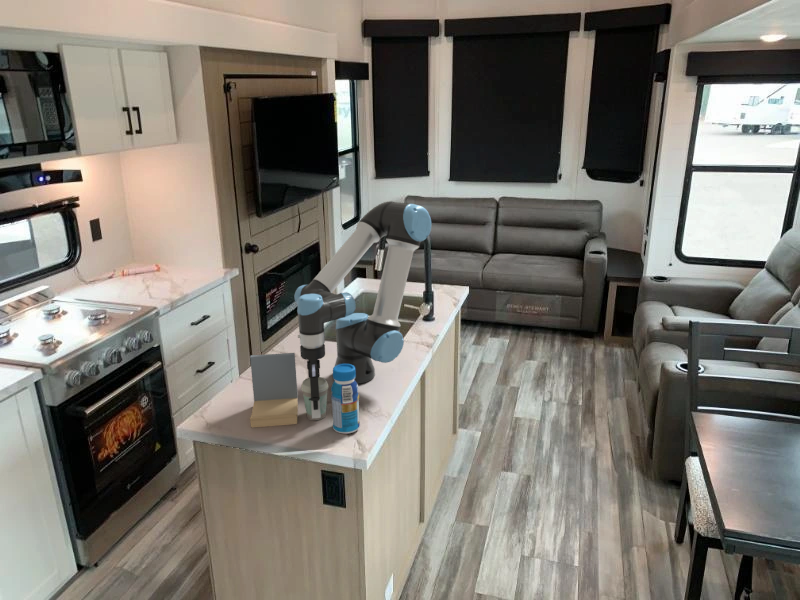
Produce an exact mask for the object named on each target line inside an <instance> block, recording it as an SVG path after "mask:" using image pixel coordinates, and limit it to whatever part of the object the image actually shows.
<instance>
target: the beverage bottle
mask: <svg viewBox="0 0 800 600" xmlns="http://www.w3.org/2000/svg"><path fill="white" fill-rule="evenodd" d="M334 366H335V365H334ZM334 366H333V368H332V378H333V380H334V381H333V382H332V385H331V387H330V390H331V395H330V399H331V406H332V407H331V410H332V428H333V430H334V431H335V432H336V433H339V434H342V435H343V434H345V435H346V434H351V433H355V432H356V431H358V430H359V429H360V427H361V424H360V408H359V407H360V405H359V404H360V403H359V402H360V401H359V400H360V393H359V389H360V388H359V384H357V382H356V381H355V380H354V379H355V377H356V370H355V367H354V366H353V365H351V364H339V365H336V366H335V367H334Z"/></svg>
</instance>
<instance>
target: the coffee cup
mask: <svg viewBox="0 0 800 600" xmlns="http://www.w3.org/2000/svg"><path fill="white" fill-rule="evenodd" d="M318 385H319V397H320V413H321V418H312V410H311V400H309V398H311V387H310V378H309V377H307V378H305V379H304V380H303V381H302V383H301V387H300V390H301V391H302V396H303V402H304V407H305V412H306V416H307V419H308V420H310V421H319V420H320V421H321V420H322V419H323V420H324V419H325V417H326V416H327V415H326V414H327V404H328V403H327V401H328V399H327V398H328V389H329V383H328V381H327V379H326V378H324V377H321V376H319V377H318Z"/></svg>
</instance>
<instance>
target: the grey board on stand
mask: <svg viewBox="0 0 800 600" xmlns="http://www.w3.org/2000/svg"><path fill="white" fill-rule="evenodd" d="M249 359H250V369H251V370H250V372H251V383H252V393H253V406H252V410H251V416H249V420H250V428H252V429H253V428H264V427H277V426H290V425H298V414H299V413H298V411H299V410H298V409H299V407H298V406H299V399H298V398H299V397H298V383H297V382H298V381H297V380H298V379H297V365H296V352H284V353H282V352H281V353H269V354H268V353H267V354H255V355H254V354H252V355H251V354H250V357H249Z"/></svg>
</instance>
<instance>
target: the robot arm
mask: <svg viewBox="0 0 800 600" xmlns="http://www.w3.org/2000/svg"><path fill="white" fill-rule="evenodd" d="M431 232H432V219H431V216H430V213H429V211H428V210H427V208H425V207H423V206H421V205H418V204H415V203H408V202H407V203H405V202H397V201H392V200H391V201H383V202H381V203H379V204H378V205H375V206H374V207H373V208H372V209H371V210H369V211H368V212H366V213H365V214H364V216H363V217H361V219H360V220H359V221H358V222H357V224H356V229H355V230H354V232H352V234H351V235H350V236H349V237H348V238H347V240H346V241H345V242H344V243H343V244H342V245H341V246H340V248H339V249H338V250H337V251H336V253H335V254H334V255H333V256H332V257H331V258H330V259H329V260H328V261H327V262H326V264H325V266H324V267H323V268H322V269H321V270H320V271H319V272H318V274H317V275H315V277H314V278H313V279H312V280H311V281H310V283H308V284H302V285H300V286H298V287H297V288H296V290H295V292H294V301H295V303H296V304H297V310H296V312H297V315H298V316H297V317H298V333H299V334H297V338H298V339H299V344H300V346H299V349H300V351H299V352H300V357H301V359H303V360H304V361H305V360H306V369H307V374H308V375H307V376H308V377H307V378H310V387H311V398H309V400H311V410H312V418H321V413H320V397H319V385H318V377H321V375H320V369H321V363H320V362H321V360H320V359H322V358H324V357H325V356H326V345H325V342H326V341H325V340H326V338H325V324H326V323H329V322H333V321H335V337H336V339H335V340H336V352H337V354H336V360H335V363H334V366H333V368H334V367H335V366H336V365H339V364H351V365H353V366H354V367H355V370H356V377H355V379H354V380H355V381H356V382H357V384H358V385H359V384H364V383H367V382H369V381H371V380H373V379H374V378H375V375H376V371H375V365H374V363H373V361H375V362H380V363H382V364H383V363H384V364H387V363H390V362H392V361H394V360H395V359H396V358H398V357H399V355H400V354H401V353H402V350H403V349H404V348H403V347H404V343H405V342H404V341H405V340H404V337H403V334H402V333H401V332H400V329H401V323H400V322H399V320H398V318H399V315H400V311H401V306H402V302H403V298H404V294H405V289H406V286H407V281H408V280H407V279H408V277H409V273H410V268H411V264H412V259H413V256H414V253H415V251H416V250H418V249H419V248H420V245H421V242H423V241H425V240H426V239H427V238H428V237H429V236H430V234H431ZM383 237H386V238H385V241H386V242H387V244H388V248H387V253H386V257H385V262H384V266H383V269H382V270H383V271H382V274H381V278H380V283H379V288H378V291H377V296H376V300H375V304H374V308H373V312H372V314H371V315H370V316H369V314H367V313H365V312H355V311H356V308H357V305H356V300H355V298H354V296H353V295H352V294H351V293H349V292H347V291H345V292H339V293H333V292H334V291H335V290H336V289H337V287H338V286H339V285H340V284H341V282H342V281H343V280H344V279H345V277H346V276H347V275H348V274H349V273H350V272H351V270H352V269H353V268H354V267H355V266H356V265H357V263H358V262H359V261H360V260H361V258H362V257H363V256H364V255H365V253H366V252H367V251H368V250H369V248H371V247H372V245H373V244H374V243H379V242H380V240H381V239H382V238H383Z"/></svg>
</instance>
